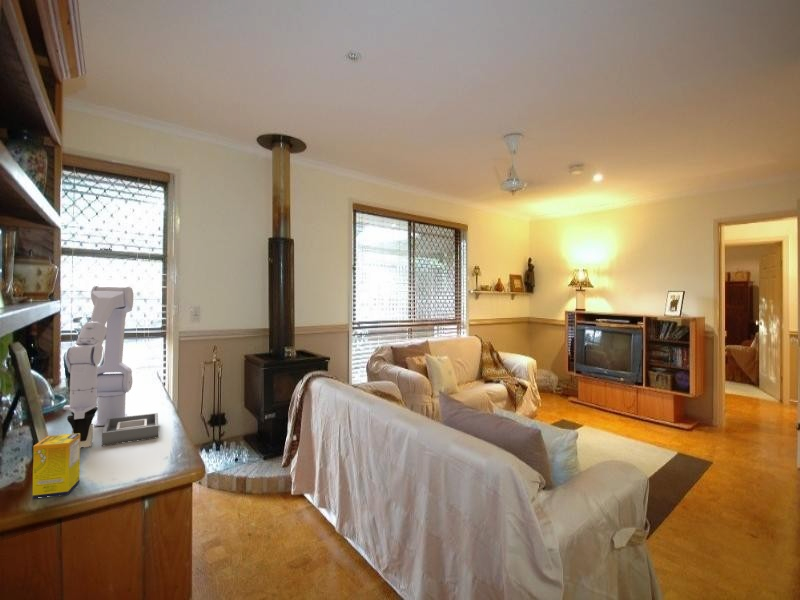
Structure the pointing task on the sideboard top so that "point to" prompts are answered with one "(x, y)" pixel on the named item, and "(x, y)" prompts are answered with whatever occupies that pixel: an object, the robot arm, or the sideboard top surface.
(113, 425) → the walled box
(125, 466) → the sideboard top surface
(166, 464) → the sideboard top surface
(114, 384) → the robot arm
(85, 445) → the connector
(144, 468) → the sideboard top surface
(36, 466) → the supplement box
